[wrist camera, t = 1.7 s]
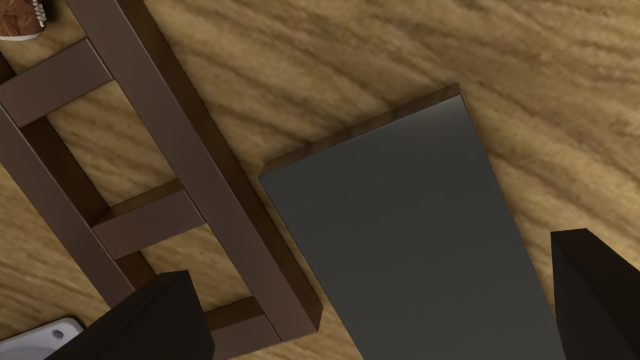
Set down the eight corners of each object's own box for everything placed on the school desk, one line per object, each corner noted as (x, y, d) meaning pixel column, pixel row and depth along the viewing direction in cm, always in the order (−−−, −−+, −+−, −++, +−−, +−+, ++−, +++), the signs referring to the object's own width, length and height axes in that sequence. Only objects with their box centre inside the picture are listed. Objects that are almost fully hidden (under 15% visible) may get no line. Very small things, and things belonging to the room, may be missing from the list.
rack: (176, 354, 27) (163, 380, 26) (-125, -59, 21) (-164, -54, 19) (324, 307, 25) (318, 333, 24) (38, -177, 18) (6, -182, 17)
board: (394, 390, 26) (393, 411, 25) (264, 163, 22) (256, 177, 21) (568, 345, 24) (576, 366, 23) (458, 81, 20) (461, 92, 19)
